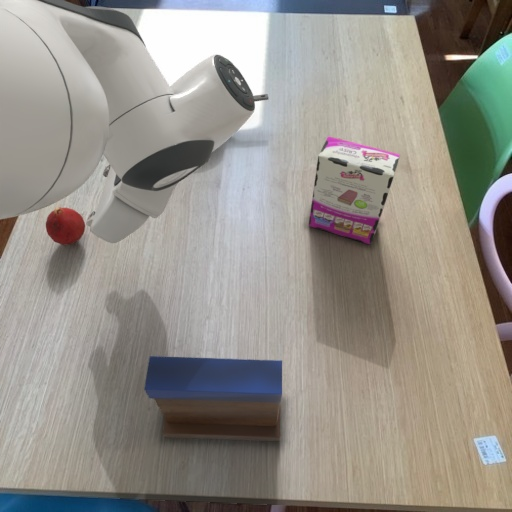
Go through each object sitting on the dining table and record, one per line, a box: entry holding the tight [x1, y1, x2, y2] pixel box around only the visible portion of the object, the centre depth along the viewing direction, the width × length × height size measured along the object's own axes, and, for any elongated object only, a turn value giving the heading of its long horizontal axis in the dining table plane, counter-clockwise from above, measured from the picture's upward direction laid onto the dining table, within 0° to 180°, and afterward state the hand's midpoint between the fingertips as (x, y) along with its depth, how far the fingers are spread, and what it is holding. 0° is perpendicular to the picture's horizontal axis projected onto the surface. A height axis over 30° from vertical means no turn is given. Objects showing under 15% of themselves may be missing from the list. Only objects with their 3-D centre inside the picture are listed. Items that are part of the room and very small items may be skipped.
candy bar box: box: [308, 135, 401, 245], centre depth 75 cm, size 11×5×16 cm, turn 68°
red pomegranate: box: [45, 206, 86, 246], centre depth 76 cm, size 6×6×8 cm
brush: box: [143, 355, 283, 442], centre depth 56 cm, size 5×15×17 cm, turn 88°
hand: (100, 197), depth 70 cm, fingers open, 8 cm apart
